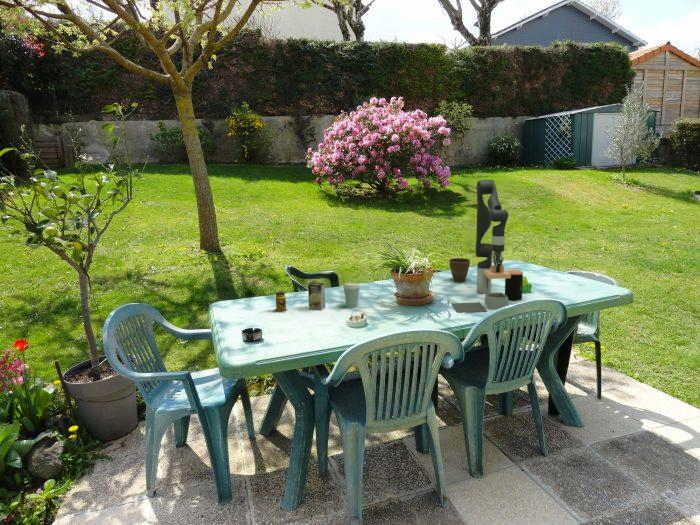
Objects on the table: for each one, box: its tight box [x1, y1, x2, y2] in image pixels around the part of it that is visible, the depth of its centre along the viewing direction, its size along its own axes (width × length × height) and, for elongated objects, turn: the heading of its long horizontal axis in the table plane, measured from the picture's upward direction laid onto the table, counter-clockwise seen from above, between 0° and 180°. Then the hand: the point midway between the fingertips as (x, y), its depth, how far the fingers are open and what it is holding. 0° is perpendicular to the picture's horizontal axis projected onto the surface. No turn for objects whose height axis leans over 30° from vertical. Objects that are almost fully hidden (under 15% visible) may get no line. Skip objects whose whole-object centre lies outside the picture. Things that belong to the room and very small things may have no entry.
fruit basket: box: [522, 276, 533, 294], centre depth 333 cm, size 11×9×11 cm
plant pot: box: [448, 257, 471, 283], centre depth 365 cm, size 15×15×16 cm
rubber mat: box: [450, 301, 488, 314], centre depth 305 cm, size 18×18×1 cm
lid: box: [484, 264, 511, 280], centre depth 302 cm, size 13×13×6 cm
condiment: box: [271, 290, 289, 313], centre depth 311 cm, size 7×8×12 cm
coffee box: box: [307, 281, 326, 311], centre depth 313 cm, size 9×6×16 cm
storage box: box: [484, 292, 509, 310], centre depth 306 cm, size 11×11×7 cm
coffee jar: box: [504, 269, 524, 302], centre depth 318 cm, size 11×11×18 cm
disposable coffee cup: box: [342, 282, 361, 309], centre depth 315 cm, size 11×11×15 cm
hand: (497, 271), depth 302 cm, fingers closed on lid, 3 cm apart
